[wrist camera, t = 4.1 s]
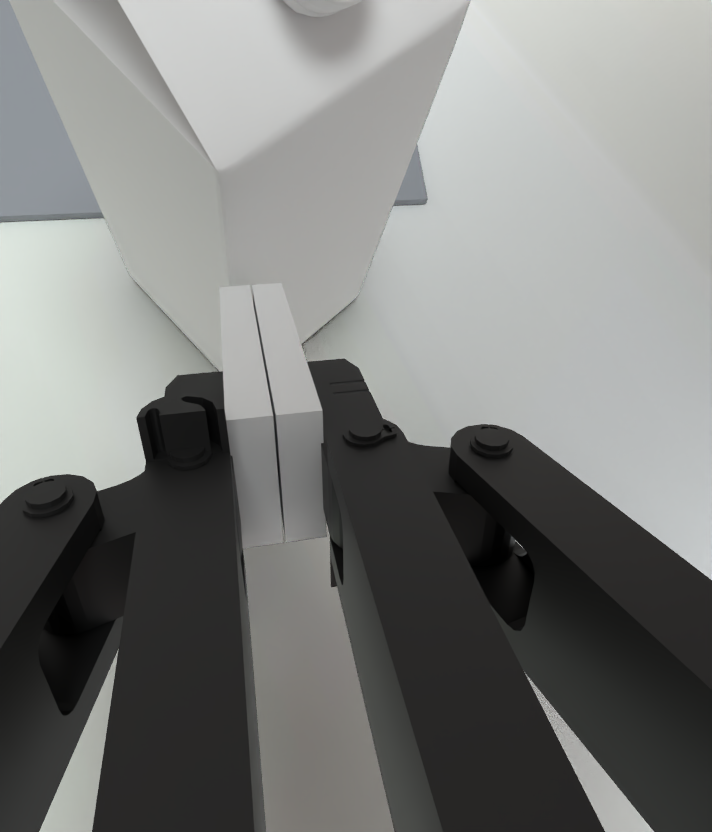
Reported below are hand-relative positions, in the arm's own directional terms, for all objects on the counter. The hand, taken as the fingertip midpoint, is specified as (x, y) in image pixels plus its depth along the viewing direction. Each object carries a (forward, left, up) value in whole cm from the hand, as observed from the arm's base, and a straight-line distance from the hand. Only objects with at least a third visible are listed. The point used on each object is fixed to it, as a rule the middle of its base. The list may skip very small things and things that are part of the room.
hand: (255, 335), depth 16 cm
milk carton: (0, -6, -10) cm, 12 cm away
